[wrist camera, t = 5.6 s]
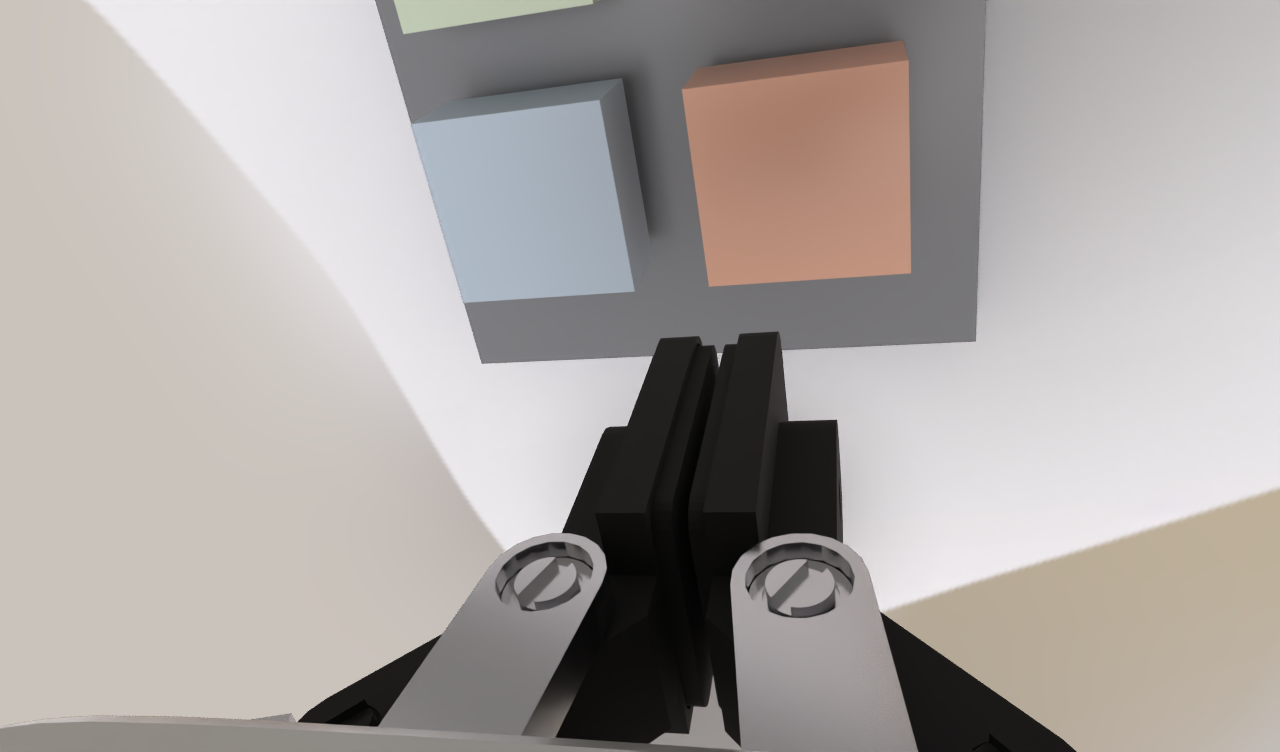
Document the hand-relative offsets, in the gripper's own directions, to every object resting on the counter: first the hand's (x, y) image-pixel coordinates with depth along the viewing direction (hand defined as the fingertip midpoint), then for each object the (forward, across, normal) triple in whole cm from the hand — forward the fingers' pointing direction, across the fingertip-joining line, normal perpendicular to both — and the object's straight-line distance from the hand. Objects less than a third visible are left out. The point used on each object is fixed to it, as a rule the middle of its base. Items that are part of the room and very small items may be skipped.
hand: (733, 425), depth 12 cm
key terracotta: (+12, -1, 0) cm, 12 cm away
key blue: (+12, +6, 0) cm, 14 cm away
